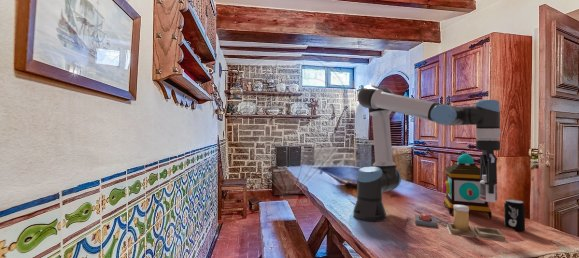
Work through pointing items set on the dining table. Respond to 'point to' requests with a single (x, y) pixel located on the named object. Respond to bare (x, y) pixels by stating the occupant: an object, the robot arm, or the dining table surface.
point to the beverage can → (514, 214)
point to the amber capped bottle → (461, 217)
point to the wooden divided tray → (478, 233)
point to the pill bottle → (483, 189)
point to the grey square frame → (425, 222)
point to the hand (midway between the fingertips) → (488, 199)
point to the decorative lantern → (464, 186)
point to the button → (425, 217)
